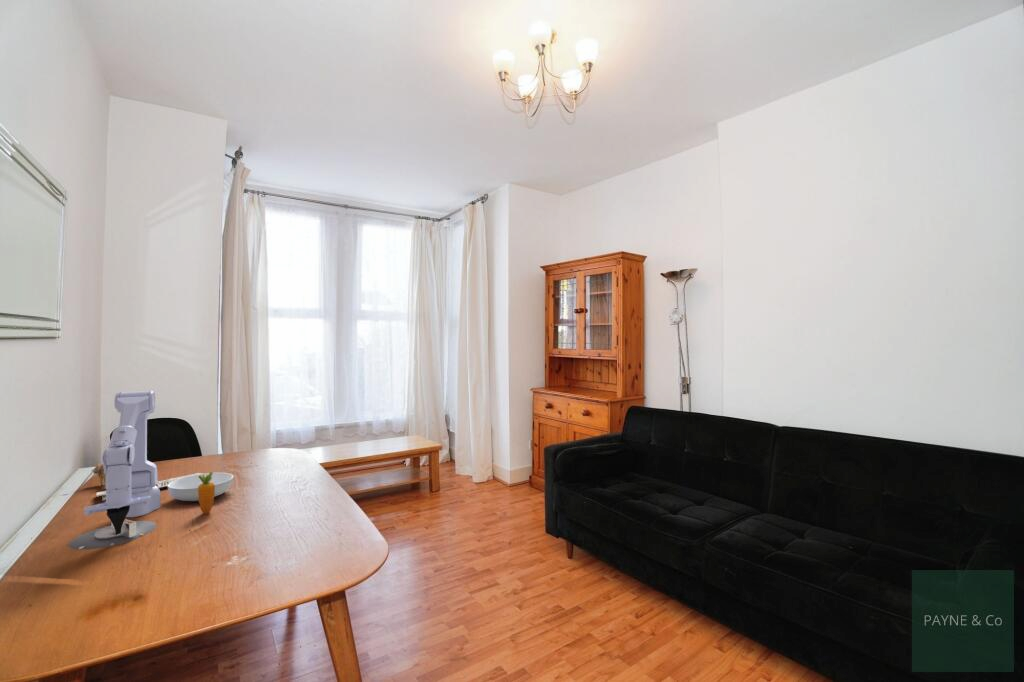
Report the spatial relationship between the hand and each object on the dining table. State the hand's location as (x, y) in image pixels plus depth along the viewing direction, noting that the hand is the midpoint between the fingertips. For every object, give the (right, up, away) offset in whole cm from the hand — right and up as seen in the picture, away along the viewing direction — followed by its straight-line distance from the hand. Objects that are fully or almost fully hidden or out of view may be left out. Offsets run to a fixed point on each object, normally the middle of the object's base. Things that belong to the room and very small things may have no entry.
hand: (118, 533), depth 129 cm
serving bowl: (-4, -4, +40) cm, 40 cm away
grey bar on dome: (-3, -2, +4) cm, 6 cm away
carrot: (+11, -4, +21) cm, 24 cm away
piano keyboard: (-31, -5, +51) cm, 60 cm away
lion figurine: (-54, -4, +53) cm, 76 cm away
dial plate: (-6, -4, +5) cm, 8 cm away
